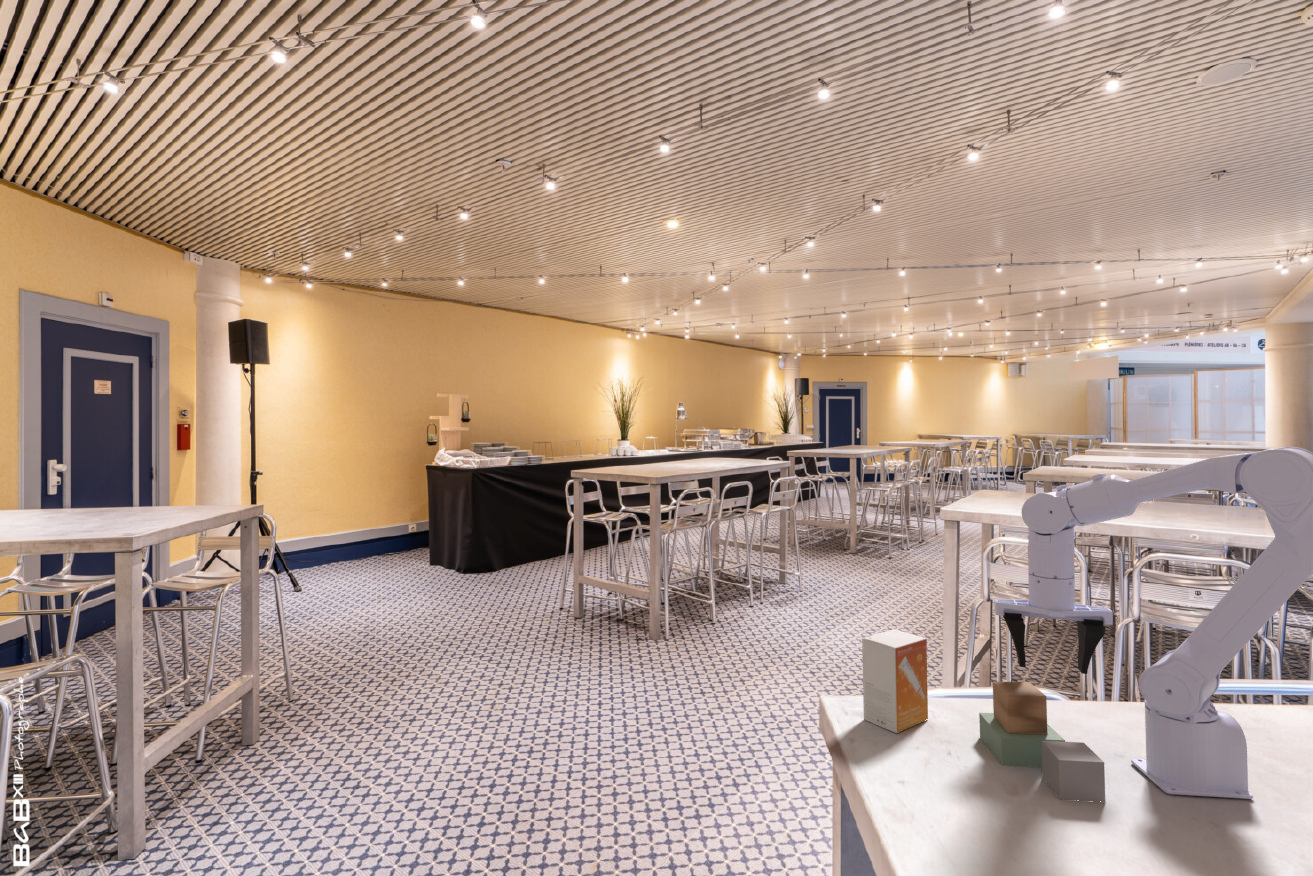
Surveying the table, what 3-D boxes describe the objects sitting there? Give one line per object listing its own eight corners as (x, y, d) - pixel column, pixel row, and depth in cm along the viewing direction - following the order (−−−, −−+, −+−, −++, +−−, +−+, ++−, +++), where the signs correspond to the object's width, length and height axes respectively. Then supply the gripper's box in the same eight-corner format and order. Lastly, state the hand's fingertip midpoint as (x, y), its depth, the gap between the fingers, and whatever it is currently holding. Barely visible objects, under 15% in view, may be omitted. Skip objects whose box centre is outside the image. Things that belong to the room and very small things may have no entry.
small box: (897, 735, 95) (895, 648, 95) (862, 720, 101) (860, 637, 101) (929, 720, 100) (927, 637, 100) (894, 707, 105) (892, 628, 105)
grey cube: (1084, 781, 82) (1083, 742, 82) (1105, 804, 77) (1104, 762, 77) (1042, 779, 82) (1041, 740, 82) (1060, 801, 77) (1058, 760, 78)
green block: (1038, 742, 93) (1037, 712, 93) (1065, 770, 85) (1065, 738, 85) (980, 740, 94) (979, 710, 94) (1002, 767, 86) (1001, 735, 86)
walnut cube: (1030, 717, 91) (1029, 682, 91) (1047, 733, 86) (1046, 696, 86) (993, 716, 92) (992, 681, 92) (1008, 732, 87) (1007, 695, 87)
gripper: (998, 577, 91) (999, 671, 92) (1119, 585, 86) (1119, 685, 86) (992, 567, 98) (993, 655, 98) (1104, 573, 93) (1104, 666, 93)
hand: (1051, 668), depth 93 cm, fingers open, 7 cm apart
